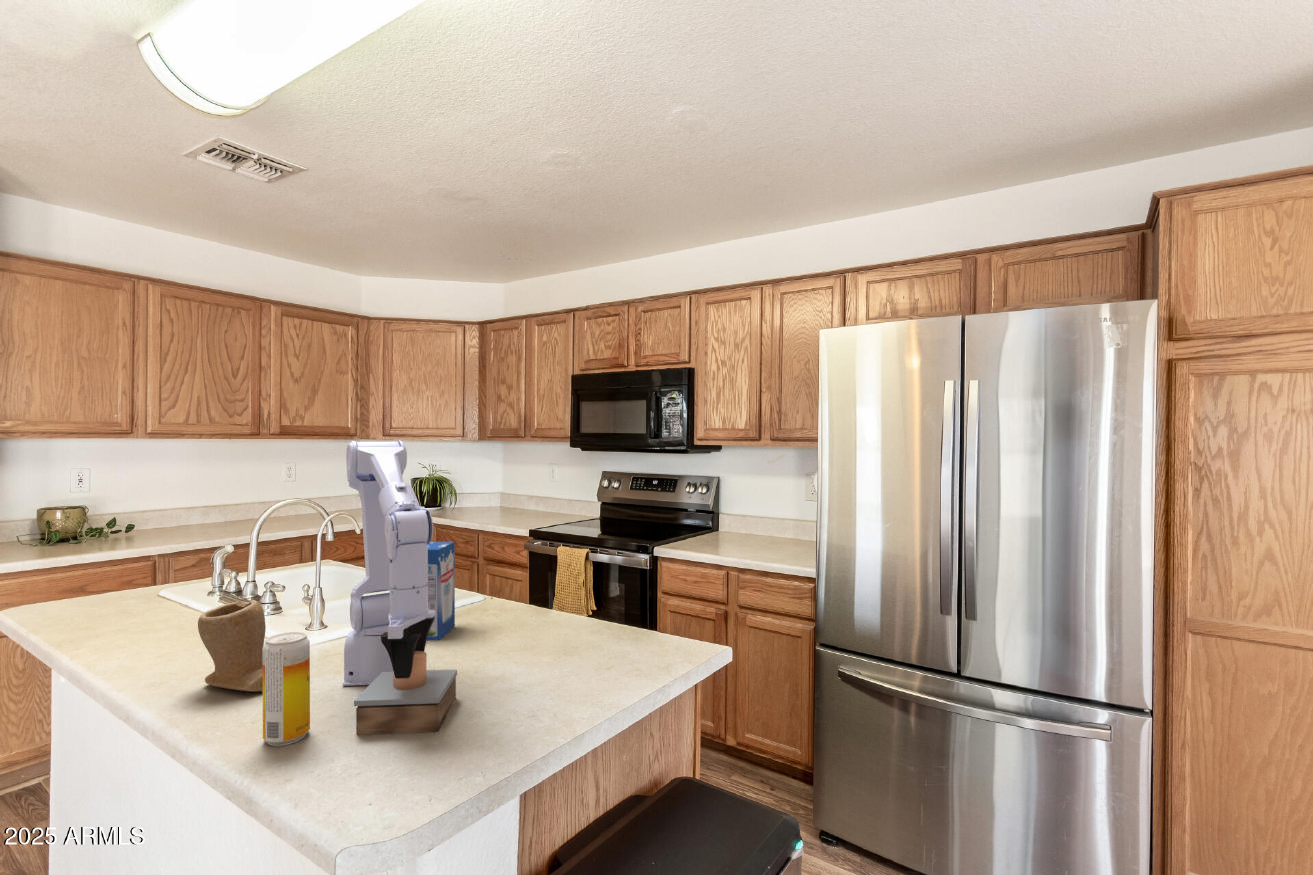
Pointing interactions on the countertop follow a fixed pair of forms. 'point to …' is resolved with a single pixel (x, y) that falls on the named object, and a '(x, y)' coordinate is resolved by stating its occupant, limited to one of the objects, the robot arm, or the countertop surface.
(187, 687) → the countertop surface
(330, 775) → the countertop surface
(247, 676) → the stone cup
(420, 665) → the tan rounded cylinder
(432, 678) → the lid
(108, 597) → the countertop surface
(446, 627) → the milk carton
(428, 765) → the countertop surface
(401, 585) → the robot arm
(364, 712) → the box
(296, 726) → the beer can
